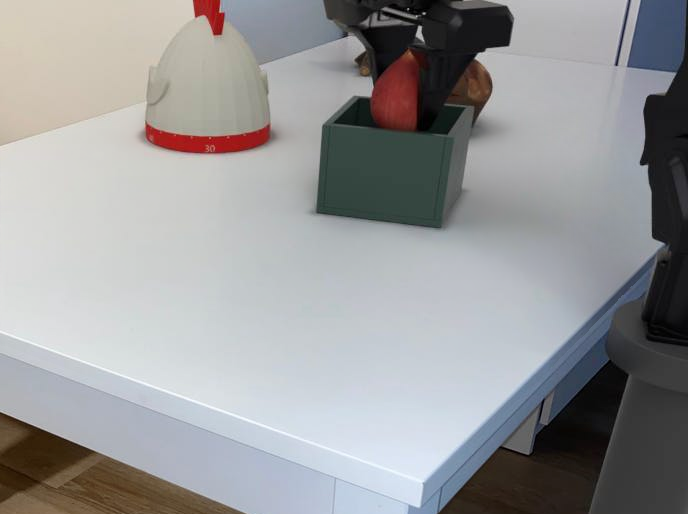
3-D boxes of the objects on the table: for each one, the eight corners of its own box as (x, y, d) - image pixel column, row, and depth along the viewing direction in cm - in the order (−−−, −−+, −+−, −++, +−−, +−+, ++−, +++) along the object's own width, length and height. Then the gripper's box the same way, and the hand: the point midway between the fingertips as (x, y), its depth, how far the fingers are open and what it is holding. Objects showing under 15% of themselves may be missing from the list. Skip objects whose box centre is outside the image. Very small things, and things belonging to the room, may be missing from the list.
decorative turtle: (405, 144, 108) (411, 63, 104) (398, 119, 121) (402, 45, 116) (496, 143, 107) (506, 60, 103) (480, 117, 120) (487, 43, 115)
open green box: (461, 190, 96) (474, 106, 91) (440, 228, 88) (454, 137, 83) (346, 177, 99) (353, 95, 95) (315, 212, 91) (322, 124, 86)
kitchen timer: (245, 115, 118) (249, -31, 109) (288, 146, 108) (297, -12, 98) (131, 124, 114) (126, -26, 105) (165, 157, 104) (162, -6, 95)
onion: (359, 150, 87) (368, 50, 83) (375, 134, 92) (385, 38, 87) (425, 157, 86) (438, 55, 81) (438, 141, 90) (452, 43, 85)
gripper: (281, -95, 82) (273, 107, 92) (407, -74, 69) (382, 160, 78) (395, -99, 86) (376, 96, 95) (536, -80, 72) (497, 144, 82)
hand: (403, 122), depth 87 cm, fingers closed on onion, 6 cm apart
